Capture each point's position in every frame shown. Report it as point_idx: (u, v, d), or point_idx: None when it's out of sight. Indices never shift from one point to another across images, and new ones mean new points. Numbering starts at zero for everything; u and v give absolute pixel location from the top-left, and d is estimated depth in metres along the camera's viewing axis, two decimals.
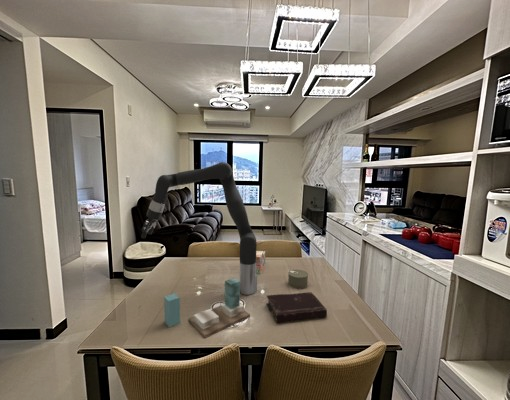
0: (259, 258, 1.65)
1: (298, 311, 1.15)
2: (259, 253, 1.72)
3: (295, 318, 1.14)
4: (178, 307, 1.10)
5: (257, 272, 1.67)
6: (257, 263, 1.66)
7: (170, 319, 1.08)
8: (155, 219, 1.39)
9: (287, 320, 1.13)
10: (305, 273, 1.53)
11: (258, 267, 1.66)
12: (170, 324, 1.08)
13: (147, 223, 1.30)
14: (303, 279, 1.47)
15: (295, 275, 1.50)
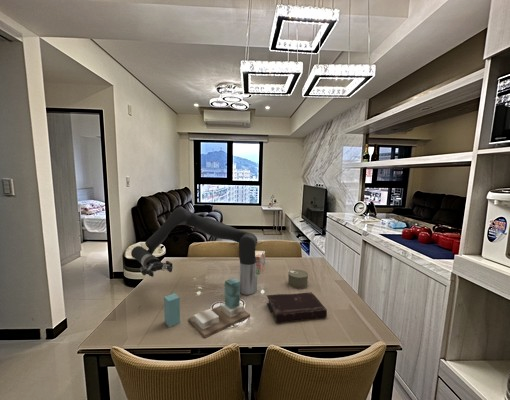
0: (259, 258, 1.65)
1: (298, 311, 1.15)
2: (259, 253, 1.72)
3: (295, 318, 1.14)
4: (178, 307, 1.10)
5: (257, 272, 1.67)
6: (257, 263, 1.66)
7: (170, 319, 1.08)
8: None
9: (287, 320, 1.13)
10: (305, 273, 1.53)
11: (258, 267, 1.66)
12: (170, 324, 1.08)
13: (140, 268, 1.20)
14: (303, 279, 1.47)
15: (295, 275, 1.50)
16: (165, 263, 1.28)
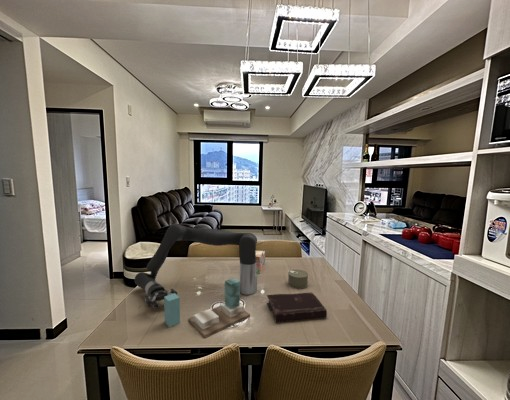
0: (259, 258, 1.66)
1: (298, 311, 1.15)
2: (259, 253, 1.72)
3: (295, 318, 1.14)
4: (178, 307, 1.10)
5: (257, 272, 1.67)
6: (257, 263, 1.66)
7: (170, 319, 1.08)
8: None
9: (286, 320, 1.14)
10: (305, 273, 1.53)
11: (258, 267, 1.67)
12: (170, 324, 1.08)
13: (145, 298, 1.18)
14: (303, 279, 1.47)
15: (295, 275, 1.50)
16: (170, 291, 1.26)
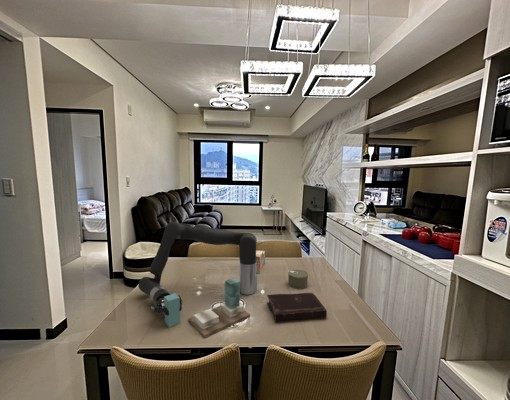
0: (259, 258, 1.66)
1: (298, 311, 1.15)
2: (259, 253, 1.73)
3: (294, 318, 1.14)
4: (178, 307, 1.10)
5: (257, 271, 1.68)
6: (257, 263, 1.67)
7: (170, 319, 1.08)
8: None
9: (286, 319, 1.14)
10: (305, 273, 1.53)
11: (258, 267, 1.67)
12: (170, 324, 1.08)
13: (152, 306, 1.11)
14: (303, 279, 1.47)
15: (295, 275, 1.50)
16: None
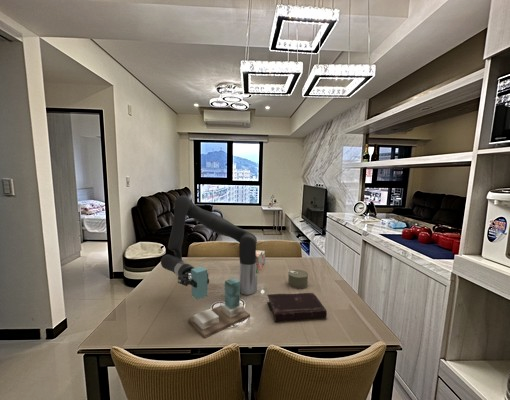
0: (257, 257, 1.67)
1: (297, 311, 1.15)
2: (258, 252, 1.73)
3: (294, 318, 1.14)
4: (206, 280, 1.08)
5: None
6: None
7: (198, 291, 1.06)
8: None
9: (286, 319, 1.14)
10: (305, 273, 1.53)
11: (256, 266, 1.67)
12: (198, 296, 1.06)
13: (178, 279, 1.09)
14: (303, 279, 1.47)
15: (295, 275, 1.50)
16: None
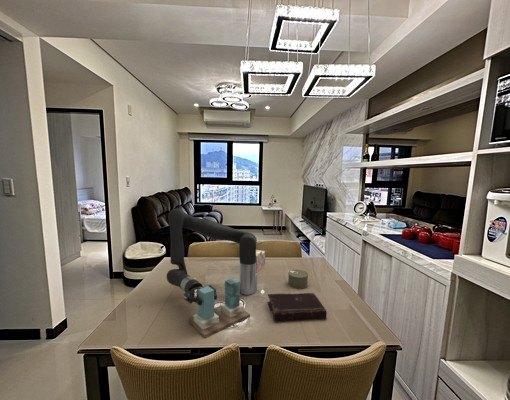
0: (256, 257, 1.67)
1: (297, 311, 1.16)
2: (257, 252, 1.74)
3: (294, 318, 1.14)
4: (213, 300, 1.09)
5: None
6: None
7: (205, 312, 1.07)
8: (200, 288, 1.16)
9: (285, 319, 1.14)
10: (305, 273, 1.53)
11: None
12: (205, 317, 1.07)
13: (184, 296, 1.10)
14: (303, 279, 1.47)
15: (295, 275, 1.50)
16: None
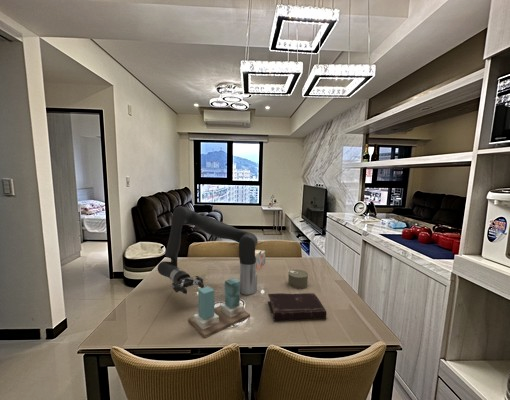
0: None
1: (297, 311, 1.16)
2: (256, 252, 1.74)
3: (293, 318, 1.14)
4: (213, 300, 1.09)
5: None
6: None
7: (205, 312, 1.07)
8: None
9: (285, 319, 1.14)
10: (305, 273, 1.53)
11: None
12: (205, 317, 1.07)
13: (172, 285, 1.20)
14: (303, 279, 1.47)
15: (295, 275, 1.50)
16: (195, 278, 1.28)
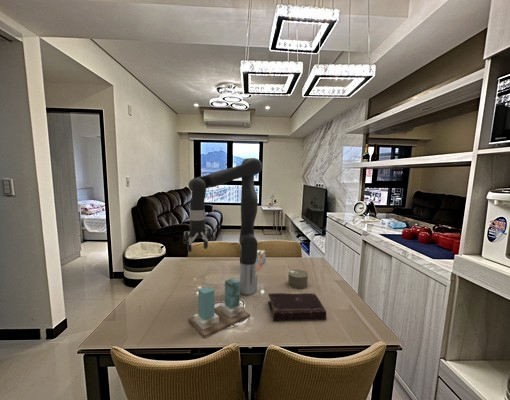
0: None
1: (296, 311, 1.16)
2: None
3: (293, 318, 1.14)
4: (213, 300, 1.09)
5: None
6: None
7: (205, 312, 1.07)
8: (201, 230, 1.25)
9: (284, 318, 1.14)
10: (305, 273, 1.53)
11: None
12: (205, 317, 1.07)
13: (185, 234, 1.20)
14: (303, 279, 1.47)
15: (295, 275, 1.50)
16: (207, 230, 1.28)
